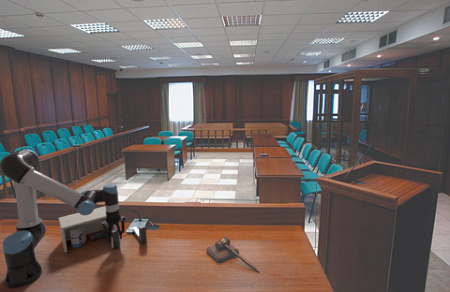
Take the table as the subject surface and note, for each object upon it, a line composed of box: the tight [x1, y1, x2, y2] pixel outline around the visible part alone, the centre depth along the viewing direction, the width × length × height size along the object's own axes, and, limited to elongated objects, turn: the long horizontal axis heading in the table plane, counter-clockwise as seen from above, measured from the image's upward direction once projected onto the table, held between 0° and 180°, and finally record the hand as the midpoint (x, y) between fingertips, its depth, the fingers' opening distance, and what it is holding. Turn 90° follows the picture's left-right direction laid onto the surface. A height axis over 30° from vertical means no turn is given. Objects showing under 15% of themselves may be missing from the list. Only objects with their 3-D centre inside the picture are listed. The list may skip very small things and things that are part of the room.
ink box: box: [70, 224, 87, 248], centre depth 163 cm, size 8×5×12 cm, turn 179°
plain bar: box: [131, 224, 148, 245], centre depth 170 cm, size 20×4×11 cm, turn 37°
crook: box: [90, 228, 121, 250], centre depth 162 cm, size 22×12×11 cm, turn 36°
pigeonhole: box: [58, 205, 118, 253], centre depth 168 cm, size 17×30×16 cm, turn 127°
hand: (116, 245), depth 158 cm, fingers closed on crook, 3 cm apart
